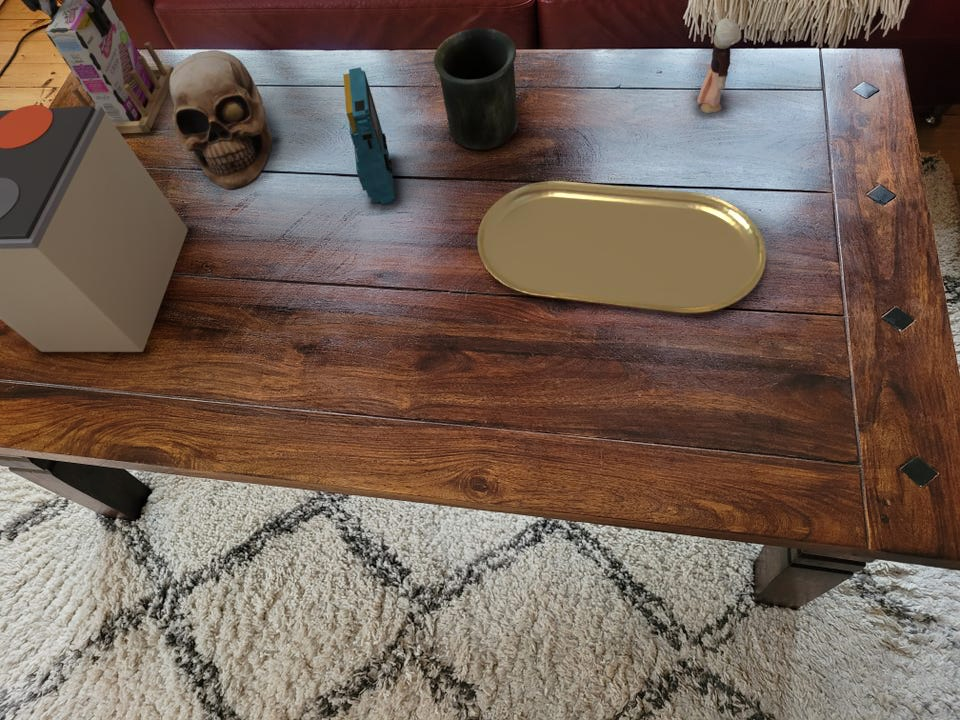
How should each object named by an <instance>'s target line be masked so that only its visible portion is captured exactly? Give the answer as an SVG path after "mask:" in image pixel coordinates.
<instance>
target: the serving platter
mask: <svg viewBox="0 0 960 720" xmlns="http://www.w3.org/2000/svg"><path fill="white" fill-rule="evenodd" d="M476 246H477V247H476V249H477V252H478V256H479V259H480V261H481V263H482V265H483V266H484V268H485V269H486V272H488V273H489V274H490V276H492V277H493V279H494V280H496V281H497V282H498V283H500V284H501V285H503V286H505V287H506V288H508V289H511V290H512V291H515V292H517V293H520V294H521V295H522V294H523V295H526V296H530V297H531V296H532V297H536V298H545V299H554V300H564V301H569V302H579V303H587V304H595V305H602V306H603V305H604V306H611V307H612V306H613V307H618V308H619V307H620V308H629V309H636V310H637V309H638V310H644V311H654V312H661V313H671V314H676V315H677V314H678V315H701V314H709V313H713V312H716V311H720V310H723V309H726V308H728V307H730V306H733V305H734V304H737V303H738V302H740V301H741V300H743V299H744V298H745V297H747V296H748V295H749V294H750V293H751V292H752V291H753V290H754V289H755V288H756V286H757V285H758V283H759V282H760V280H761V278H762V276H763V274H764V272H765V268H766V263H767V249H766V245H765V241H764V238H763V236H762V233H761V231H760V229H759V228H758V226H757V225H756V224H755V223H754V222H753V220H752V219H751V218H750V217H749V216H748V215H747V214H746V213H745V212H744V211H742V210H741V209H739V208H738V207H736V206H735V205H733V204H731V203H729V202H728V201H726V200H723V199H721V198H718V197H716V196H712V195H708V194H705V193H701V192H693V191H683V190H682V191H681V190H670V189H669V190H668V189H659V188H647V187H646V188H645V187H634V186H622V185H613V184H612V185H611V184H598V183H588V182H587V183H586V182H578V181H577V182H576V181H566V180H565V181H564V180H547V181H539V182H533V183H530V184H526V185H523V186H520V187H518V188H516V189H513V190H512V191H509V192H507V193H506V194H504V195H503V196H501V197H500V198H499V199H498V200H496V202H494V203H493V204H492V205H491V206H490V207H489V209H488V210H487V212H485V214H484V216H483V218H482V219H481V222H480V224H479V227H478V231H477V236H476Z"/></svg>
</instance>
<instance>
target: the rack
mask: <svg viewBox="0 0 960 720" xmlns="http://www.w3.org/2000/svg"><path fill="white" fill-rule="evenodd" d="M144 47H145V49H146V50H147V52H148V54H149V56H150V57H151V59H152V61H153V62H154V64H155V65H152V66H150V64H149V63H148V61H147V60H146V58H145V56H144V55H143V54H142V55H141V54H140V55H141V56H139V57H138V60H139V61H140V63H141V65H142V66H143V68H144V69H145V71H146V73H147V74H148V76H149V78H150V79H151V81H152V83H153V86H154V88H153V92H152V93H151V91H150V92H149V90H148V88H147V87H146V85H145V84H144V82H143V80H142V79H141V77H140V76H139V74H138V72H137V71H136V70H132V71H131V74H132V76H133V77H134V79H135V80H136V82H137V84H138V85H139V87H140V88H141V90H142V92H143V93H144V95H145V96H146V98H147V99H146V100H147V101H148V102H147V105H146V107H144V106H143V105H142V104H141V102H140V101H139V99H138V97H137V96H136V94H135V93H134V91H133V90H132V88H131V86H130V85H129V84H125V85H124V88H125V90H126V92H127V93H128V95H129V96H130V98H131V99H132V101H133V102H134V104H135V105H136V107H137V108H138V110H139V111H140V115H141V118H140V119H139V120H137V121H130V122H113V124H114V125H115V127H116V128H117V129H118V131H119V132H120V134H121V135H122V134H140V133H142V134H143V133H145V134H146V133H150V132H151V130H152V128H153V126H154V123H155V121H156V119H157V116H158V114H159V112H160V110H161V108H162V106H163V103H164V101H165V99H166V97H167V94H168V92H169V91H170V88H169V82H170V76H171V73H172V71H173V69H174V68H175V67H173V65H172V64H169V65H168V64H167V65H164V64H163V63H162V61H161V60H160V57H159V56H158V53H156V51H155V49H154V47H153V46H152V44H151V42H150V41H146V42H145V43H144ZM158 78H159V79H158ZM70 91H71V92H72V93H73V95H74V96H75V97H76V99H77V100H78V102H79V103H80V104H81V106H82V107H83V106H91V104H89V102H88V101H87V100H86V98H85V97H84V95H83V94H82V92H81V91H80V89H79V88H78V87H77V86H72V87H71V88H70Z"/></svg>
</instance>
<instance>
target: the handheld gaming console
mask: <svg viewBox="0 0 960 720" xmlns="http://www.w3.org/2000/svg"><path fill="white" fill-rule="evenodd" d="M342 76H343V88H344V101H345V113H346V117H347V120H348V124H349V135H350V138H351V141H352V143H353V147H354V158H355V169H356V174H357V177H358V180H359V182H360V186H361V188H362V190H363V191H366V194H367V197H368V199H369V198H371V200H372V203H373V204H376V203H381V205H382V206H386V205H387V206H388V205H392V204H394V200H395V199H396V192H395V186H394V178H393V174H394V172H393V167H392V159H391V157H390V152H389V149H388V143H387V137H386V134H385V133H384V132H383V129H382V124H381V121H380V118H379V115H378V112H377V107H376V104H375V101H374V98H373V94H372V90H371V88H370V83H369V81H368V77H367V74H366V71H365V70H362V68H361V66H360V67H355V68H349V69H348V72H347V73H343V75H342Z"/></svg>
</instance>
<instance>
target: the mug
mask: <svg viewBox="0 0 960 720" xmlns="http://www.w3.org/2000/svg"><path fill="white" fill-rule="evenodd" d="M516 57H517V48H516V45H515V43H514V41H513V40H512V38H511V37H510V36H508V35H507V34H506V33H504V32H502V31H499V30H497V29H493V28H486V27H484V28H483V27H478V28H477V27H476V28H468V29H465V30H461V31H459V32H457V33H454V34H453V35H451V36H448V37H447V38H446V39H444V40H443V42H441V43H440V44H439V46H438V47H437V49H436V50H435V53H434V56H433V66H434V68H435V71H436V72H437V73H438V75H439V80H440V85H441V91H442V97H443V101H444V107H445V113H446V117H447V118H446V119H447V123H448V129H449V132H450V133H449V134H450V135H451V138H452V139H454V141H456V143H458V144H459V145H461V146H462V147H464V148H468V149H470V150H476V151H485V150H491V149H494V148H497V147H499V146H501V145H504V143H506V142H508V141H509V140H510V139H511V138H512V136H513V135H514V133H515V132H516V130H517V129H518V124H519V113H518V100H517V99H518V98H517V86H516V85H517V84H516V74H515V61H516Z"/></svg>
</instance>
